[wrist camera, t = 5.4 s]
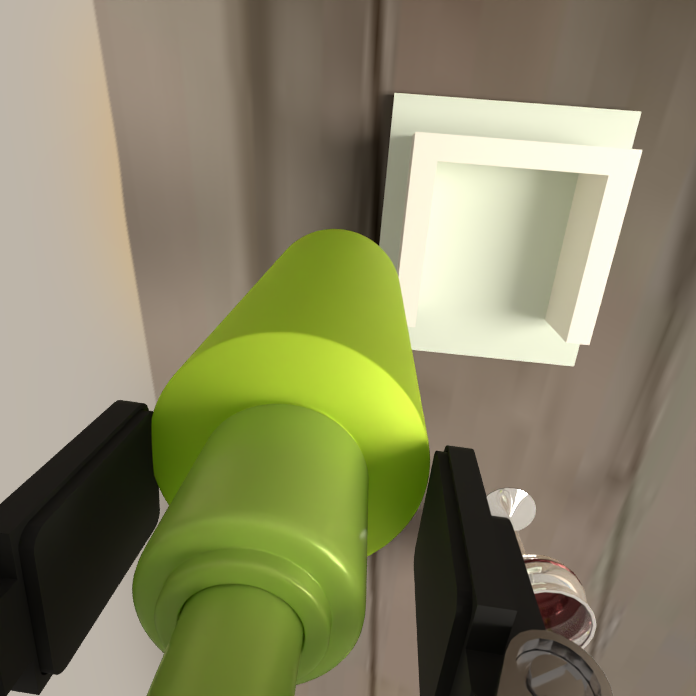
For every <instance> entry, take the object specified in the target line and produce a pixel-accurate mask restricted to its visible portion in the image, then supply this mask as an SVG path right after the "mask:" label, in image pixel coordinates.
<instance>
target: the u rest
mask: <svg viewBox="0 0 696 696" xmlns="http://www.w3.org/2000/svg"><path fill="white" fill-rule="evenodd" d="M640 115H641V112H638V111H625V110H612V109H599V108H586V107H573V106H560V105H547V104H534V103H521V102H508V101H495V100H482V99H469V98H456V97H443V96H430V95H417V94H404V93H395V94H394V104H393V114H392V124H391V134H390V144H389V154H388V164H387V174H386V184H385V193H384V203H383V213H382V223H381V233H380V243H379V247H380V248H382V250H383V251H384V252H385V253H386V254H387V255H388V257H389V258H390V260H391V261H392V263H393V265H394V267H395V269H396V271H397V274H398V277H399V282H400V287H401V293H402V298H403V304H404V309H405V315H406V320H407V326H408V331H409V337H410V343H411V348H412V350H421V351H430V352H440V353H449V354H459V355H469V356H478V357H488V358H498V359H507V360H517V361H527V362H536V363H546V364H555V365H565V366H574V364H575V360H576V357H577V353H578V349H579V345H580V344H584V345H589V344H590V340H591V337H592V333H593V329H594V326H595V322H596V318H597V315H598V311H599V307H600V304H601V300H602V296H603V293H604V289H605V285H606V282H607V278H608V274H609V271H610V267H611V263H612V260H613V256H614V252H615V249H616V245H617V241H618V238H619V234H620V230H621V227H622V223H623V219H624V216H625V212H626V208H627V205H628V201H629V197H630V194H631V190H632V186H633V183H634V179H635V175H636V172H637V168H638V164H639V161H640V157H641V153H642V150H636V149H632V145H633V142H634V138H635V134H636V130H637V126H638V123H639V119H640Z"/></svg>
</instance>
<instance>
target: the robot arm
mask: <svg viewBox="0 0 696 696" xmlns="http://www.w3.org/2000/svg"><path fill="white" fill-rule="evenodd" d="M152 415H153V411H149V409H148V407H147V405H146V404H144V403H137V402H130V401H123V400H118V401H116V402H114V403H113V404H112V405H111V406H110V407H109V408H108V409H107V410H105V411H104V412H103V413H102V414H101V415H100V416H99V417H98V418H96V419H95V420H94V421H93V422H92V423H91V424H90V425H89V426H87V427H86V428H85V429H84V430H83V431H82V432H81V433H80V434H78V435H77V436H76V437H75V438H74V439H73V440H72V441H71V442H69V443H68V444H67V445H66V446H65V447H64V448H63V449H62V450H60V451H59V452H58V453H57V454H56V455H55V456H54V457H53V458H51V459H50V460H49V461H48V462H47V463H46V464H45V465H44V466H42V467H41V468H40V469H39V470H38V471H37V472H36V473H35V474H33V475H32V476H31V477H30V478H29V479H28V480H27V481H26V482H25V483H23V484H22V485H21V486H20V487H19V488H18V489H17V490H15V491H14V492H13V493H12V494H11V495H10V496H9V497H8V498H6V499H5V500H4V501H3V502H2V503H1V504H0V696H7V694H8V693H9V692H10V690H12V691H18V692H24V693H30V694H36V695H39V694H40V693H41V691H42V690H43V688H44V687H45V685H46V684H47V682H48V681H49V679H50V677H51V676H52V675H53V674H56V675H58V674H60V673H61V672H63V671H64V669H65V668H66V667H67V665H68V664H69V662H70V661H71V659H72V658H73V656H74V654H75V653H76V651H77V650H78V648H79V646H80V645H81V643H82V642H83V640H84V639H85V637H86V636H87V634H88V632H89V631H90V629H91V628H92V626H93V625H94V623H95V621H96V620H97V618H98V617H99V615H100V614H101V612H102V610H103V609H104V607H105V606H106V604H107V603H108V601H109V599H110V598H111V596H112V595H113V593H114V592H115V590H116V588H117V587H118V585H119V584H120V582H121V581H122V579H123V577H124V575H125V574H126V573H127V571H128V570H129V568H130V567H131V565H132V563H133V562H134V560H135V559H136V557H137V556H138V554H139V552H140V551H141V549H142V548H143V546H144V545H145V543H146V541H147V540H148V538H149V537H150V535H151V533H152V532H153V530H154V529H155V527H156V525H157V522H158V519H159V514H160V512H159V511H160V507H159V486H158V484H157V481H156V479H155V476H154V468H153V455H152ZM414 580H415V601H416V623H417V644H418V665H419V686H420V696H613V693H612V688H611V685H610V683H609V681H608V679H607V677H606V675H605V673H604V671H603V670H602V669H601V667H600V666H599V665H598V664H597V662H596V661H595V660H594V659H593V658H592V656H591V655H589V654H588V653H587V652H586V651H585V650H584V649H582V648H581V647H580V646H579V645H578V644H576V643H574V642H573V641H571V640H569V639H567V638H566V637H564V636H562V635H559V634H556V633H553V632H550V631H547V630H546V629H545V626H544V622H543V619H542V616H541V613H540V610H539V607H538V604H537V600H536V597H535V594H534V591H533V588H532V585H531V582H530V578H529V575H528V572H527V569H526V566H525V563H524V560H523V557H522V553H521V550H520V547H519V544H518V541H517V538H516V535H515V531H514V528H513V525H512V523H511V521H510V520H509V519H508V518H506V517H499V516H492V515H491V512H490V508H489V504H488V500H487V497H486V493H485V489H484V486H483V482H482V478H481V474H480V471H479V467H478V463H477V460H476V456H475V452H474V450H473V449H469V448H462V447H455V446H448V445H447V446H446V447H445V450H444V452H441V451H436V452H435V454H434V459H433V464H432V468H431V473H430V478H429V483H428V488H427V493H426V498H425V503H424V508H423V513H422V518H421V523H420V528H419V533H418V538H417V542H416V547H415V554H414Z"/></svg>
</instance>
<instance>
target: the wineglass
mask: <svg viewBox="0 0 696 696" xmlns="http://www.w3.org/2000/svg"><path fill="white" fill-rule="evenodd" d="M487 500H488V504H489V508H490V512H491V515H492V516H499V517H506V518H508V519H509V520H510V521H511V523H512V525H513V528H514V531H515V535H516V538H517V541H518V544H519V547H520V550H521V553H522V557H523V560H524V563H525V566H526V569H527V572H528V575H529V578H530V582H531V585H532V588H533V591H534V594H535V597H536V600H537V604H538V607H539V610H540V613H541V616H542V619H543V622H544V626H545V629H546V630H547V631H550V632H553V633H556V634H559V635H562V636H564V637H566V638H567V639H569V640H571V641H573V642H574V643H576V644H578V645H579V646H580V647H581V648H582V649H583V648H585V647H586V646H587V644H588V643H589V642H590V640H591V639H592V638H593V636H594V633H595V629H596V620H595V615H594V613H593V611H592V610H591V609H590V607H589V606H588V604H587V600H586V595H585V590H584V588H583V587H582V584H581V583H580V581H579V580H578V578H577V577H576V575H575V574H574V573H573V572H572V571H571V570H570V569H569V568H568V567H567V566H565V565H564V564H562V563H561V562H560V561H558V560H557V559H554V558H551V557H548V556H545V555H533V554H526V551H525V549H524V546H523V544H522V541H521V539H520V536H519V534H518V531H519V530H521V529H523V528H525V527H526V526H527V525H529V524H530V523H531V522H532V520H533V518H534V517H535V512H536V506H535V502H534V501H533V499H532V498H531V496H530V495H528V494H527V493H526V492H524V491H522V490H519V489H515V488H504V489H499V490H496V491H494V492H492V493H490V494H489V495H488V496H487Z"/></svg>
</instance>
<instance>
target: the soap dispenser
mask: <svg viewBox="0 0 696 696" xmlns="http://www.w3.org/2000/svg"><path fill="white" fill-rule="evenodd" d="M152 455H153V468H154V476H155V479H156V481H157V484H158V486H159V488H160V490H161V492H162V494H163V496H164V498H165V500H166V501H167V503H168V504H169V507H168V509H167V511H166V512H165V514H164V516H163V517H162V519H161V521H160V522H159V524H158V527H157V528H156V529H155V531H154V533H153V535H152V536H151V538H150V540H149V541H148V543H147V545H146V547H145V549H144V551H143V553H142V554H141V557H140V559H139V561H138V564H137V567H136V570H135V573H134V578H133V585H132V593H133V602H134V606H135V610H136V612H137V616H138V618H139V621H140V623H141V625H142V627H143V628H144V630H145V632H146V633H147V635H148V636H149V637H150V639H151V640H152V641H153V642H154V643H155V645H156V646H157V647H158V648H159V649H160V650H161V651H162V652H163V653H164V655H163V658H162V660H161V663H160V665H159V667H158V670H157V672H156V674H155V677H154V679H153V682H152V684H151V686H150V689H149V691H148V694H147V696H294V695H295V688H296V685H298V684H302V683H305V682H308V681H310V680H313V679H315V678H317V677H319V676H321V675H323V674H325V673H327V672H328V671H330V670H331V669H333V668H334V667H335V666H337V665H338V664H339V663H340V662H341V661H342V660H343V659H344V658H345V657H346V656H347V655H348V654H349V653H350V651H351V650H352V649H353V647H354V646H355V644H356V642H357V640H358V638H359V636H360V633H361V630H362V626H363V622H364V618H365V609H366V580H367V556H369V555H371V554H373V553H374V552H376V551H378V550H379V549H381V548H382V547H384V546H385V545H386V544H388V543H389V542H390V541H392V540H393V539H394V538H395V537H396V536H397V535H398V534H399V533H400V532H401V531H402V530H403V529H404V528H405V527H406V525H407V524H408V523H409V522H410V520H411V519H412V517H413V516H414V514H415V513H416V511H417V509H418V507H419V505H420V503H421V501H422V499H423V496H424V493H425V490H426V487H427V483H428V478H429V470H430V451H429V443H428V437H427V431H426V426H425V420H424V415H423V409H422V404H421V398H420V393H419V387H418V381H417V376H416V370H415V365H414V359H413V354H412V348H411V343H410V337H409V331H408V326H407V320H406V315H405V309H404V304H403V298H402V293H401V287H400V282H399V277H398V274H397V271H396V269H395V267H394V265H393V263H392V261H391V260H390V258H389V257H388V255H387V254H386V253H385V252H384V251H383V250H382V248H380V247H379V246H378V245H377V244H376V243H375V242H373V241H372V240H370V239H369V238H367V237H365V236H363V235H361V234H358V233H355V232H352V231H348V230H342V229H326V230H320V231H316V232H313V233H310V234H308V235H306V236H304V237H302V238H300V239H299V240H297V241H296V242H294V243H293V244H292V245H291V246H290V247H289V248H288V249H287V250H286V251H285V252H284V253H283V254H282V255H281V256H280V258H279V259H278V260H277V261H276V262H275V263H274V264H273V265H272V266H271V268H270V269H269V270H268V271H267V272H266V273H265V274H264V275H263V276H262V278H261V279H260V280H259V281H258V282H257V283H256V284H255V285H254V286H253V288H252V289H251V290H250V291H249V292H248V293H247V294H246V295H245V296H244V298H243V299H242V300H241V301H240V302H239V303H238V304H237V305H236V306H235V308H234V309H233V310H232V311H231V312H230V313H229V314H228V315H227V317H226V318H225V319H224V320H223V321H222V322H221V323H220V324H219V325H218V327H217V328H216V329H215V330H214V331H213V332H212V333H211V334H210V335H209V337H208V338H207V339H206V340H205V341H204V342H203V343H202V344H201V345H200V347H199V348H198V349H197V350H196V351H195V352H194V353H193V354H192V355H191V357H190V358H189V359H188V360H187V361H186V362H185V363H184V364H183V365H182V367H181V368H180V369H179V370H178V371H177V372H176V373H175V374H174V376H173V377H172V378H171V379H170V381H169V382H168V384H167V385H166V387H165V388H164V390H163V391H162V393H161V395H160V397H159V399H158V401H157V404H156V406H155V409H154V412H153V415H152Z"/></svg>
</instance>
